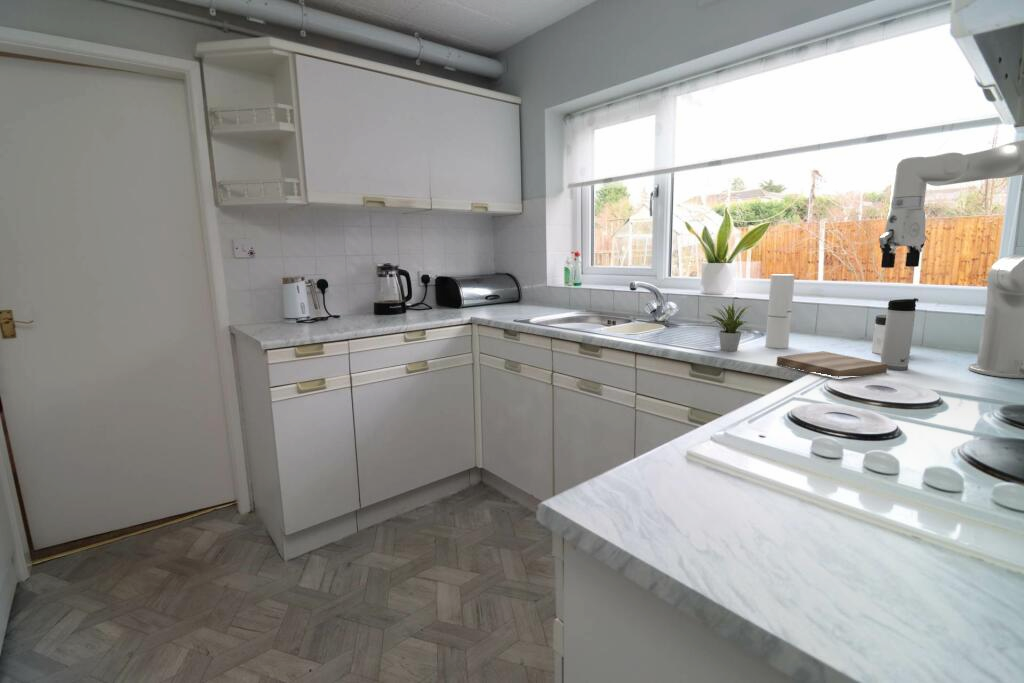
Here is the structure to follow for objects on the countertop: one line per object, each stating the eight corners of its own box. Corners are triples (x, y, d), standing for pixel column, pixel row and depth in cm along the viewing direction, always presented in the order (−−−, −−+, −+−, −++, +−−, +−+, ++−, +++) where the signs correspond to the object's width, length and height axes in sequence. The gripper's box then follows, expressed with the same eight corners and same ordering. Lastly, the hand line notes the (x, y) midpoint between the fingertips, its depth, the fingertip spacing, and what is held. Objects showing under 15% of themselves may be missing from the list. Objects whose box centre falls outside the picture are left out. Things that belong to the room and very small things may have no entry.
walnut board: (886, 372, 138) (887, 363, 137) (838, 379, 131) (839, 370, 131) (822, 358, 155) (822, 351, 155) (776, 364, 148) (777, 356, 148)
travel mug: (909, 371, 138) (919, 299, 135) (879, 368, 142) (888, 298, 139) (908, 367, 143) (918, 297, 140) (880, 364, 147) (888, 296, 144)
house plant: (731, 344, 181) (734, 299, 178) (762, 351, 168) (766, 302, 165) (699, 347, 176) (702, 301, 173) (729, 354, 163) (733, 304, 160)
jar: (864, 351, 165) (868, 315, 163) (882, 349, 168) (887, 314, 166) (891, 356, 157) (896, 319, 155) (910, 354, 159) (915, 317, 157)
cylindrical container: (793, 347, 174) (799, 274, 169) (777, 349, 171) (784, 275, 166) (775, 343, 180) (781, 273, 176) (760, 345, 178) (766, 274, 173)
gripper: (898, 203, 132) (891, 268, 135) (943, 203, 138) (935, 266, 141) (870, 205, 139) (864, 267, 142) (914, 206, 145) (907, 265, 148)
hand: (899, 267), depth 141 cm, fingers open, 9 cm apart
